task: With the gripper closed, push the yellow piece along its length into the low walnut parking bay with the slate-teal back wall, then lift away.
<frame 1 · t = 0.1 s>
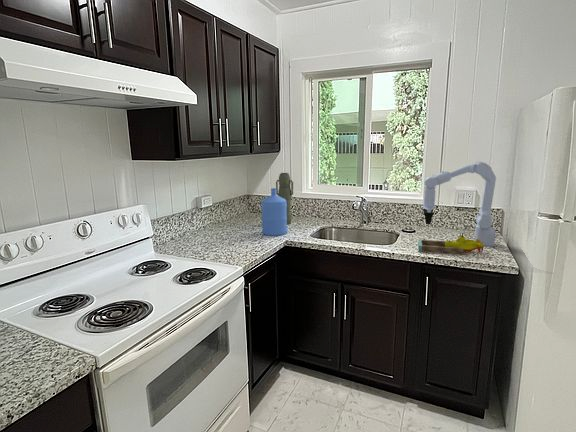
hand: (427, 222, 197), 10 cm above the countertop, tool pointing down, fingers open, 7 cm apart
water jug: (274, 233, 221), on the countertop
yellow piece: (463, 251, 179), on the countertop
thermos: (285, 223, 246), on the countertop
parking bay: (440, 249, 182), on the countertop
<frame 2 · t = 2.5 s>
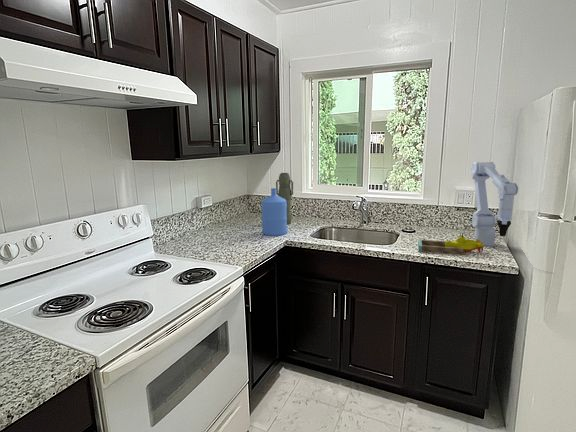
hand: (502, 235, 171), 9 cm above the countertop, tool pointing down, fingers closed
nothing on the countertop moved.
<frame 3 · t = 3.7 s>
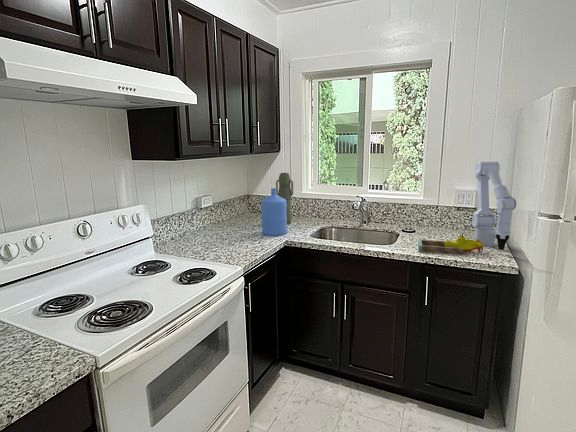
hand: (500, 249, 173), 2 cm above the countertop, tool pointing down, fingers closed
nothing on the countertop moved.
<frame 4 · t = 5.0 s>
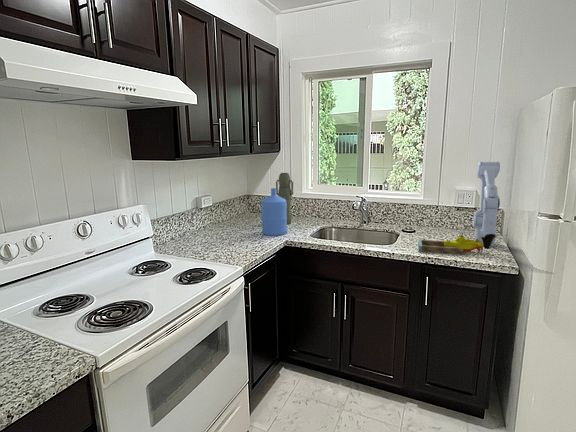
hand: (486, 248, 175), 2 cm above the countertop, tool pointing down, fingers closed
yellow piece: (462, 251, 179), on the countertop, touching gripper
everything else where it was.
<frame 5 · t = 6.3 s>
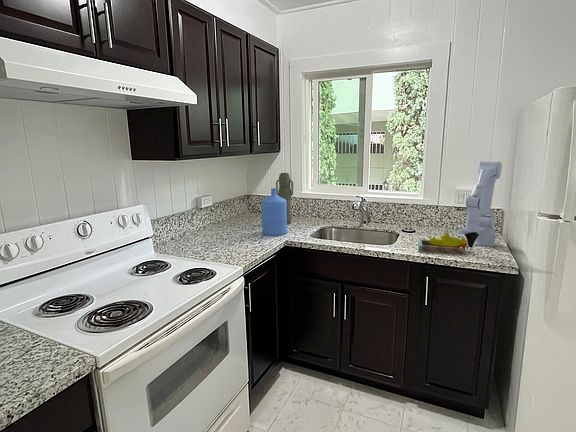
hand: (470, 247, 176), 3 cm above the countertop, tool pointing down, fingers closed, pressing on yellow piece
yellow piece: (448, 249, 182), on the countertop, touching gripper, parking bay
everything else where it was.
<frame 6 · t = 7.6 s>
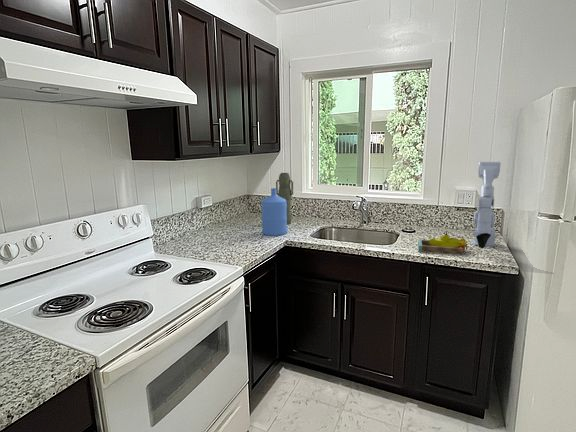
hand: (481, 247, 175), 3 cm above the countertop, tool pointing down, fingers closed
yellow piece: (447, 250, 182), on the countertop
everything else where it was.
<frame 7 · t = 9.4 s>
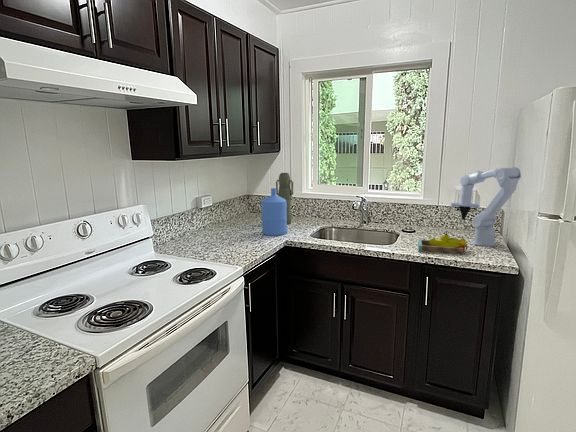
hand: (463, 219, 202), 10 cm above the countertop, tool pointing down, fingers closed
nothing on the countertop moved.
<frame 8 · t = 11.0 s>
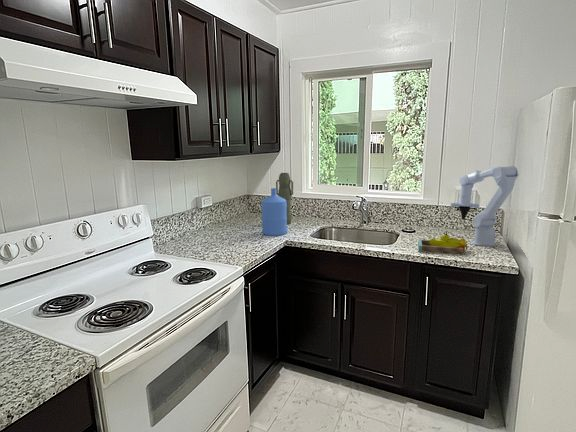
hand: (463, 219, 203), 10 cm above the countertop, tool pointing down, fingers closed
nothing on the countertop moved.
at the end: yellow piece inside the target area (2.1 cm from its centre), on the countertop; yellow piece moved 7.4 cm from its start; yellow piece tilted 0° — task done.
